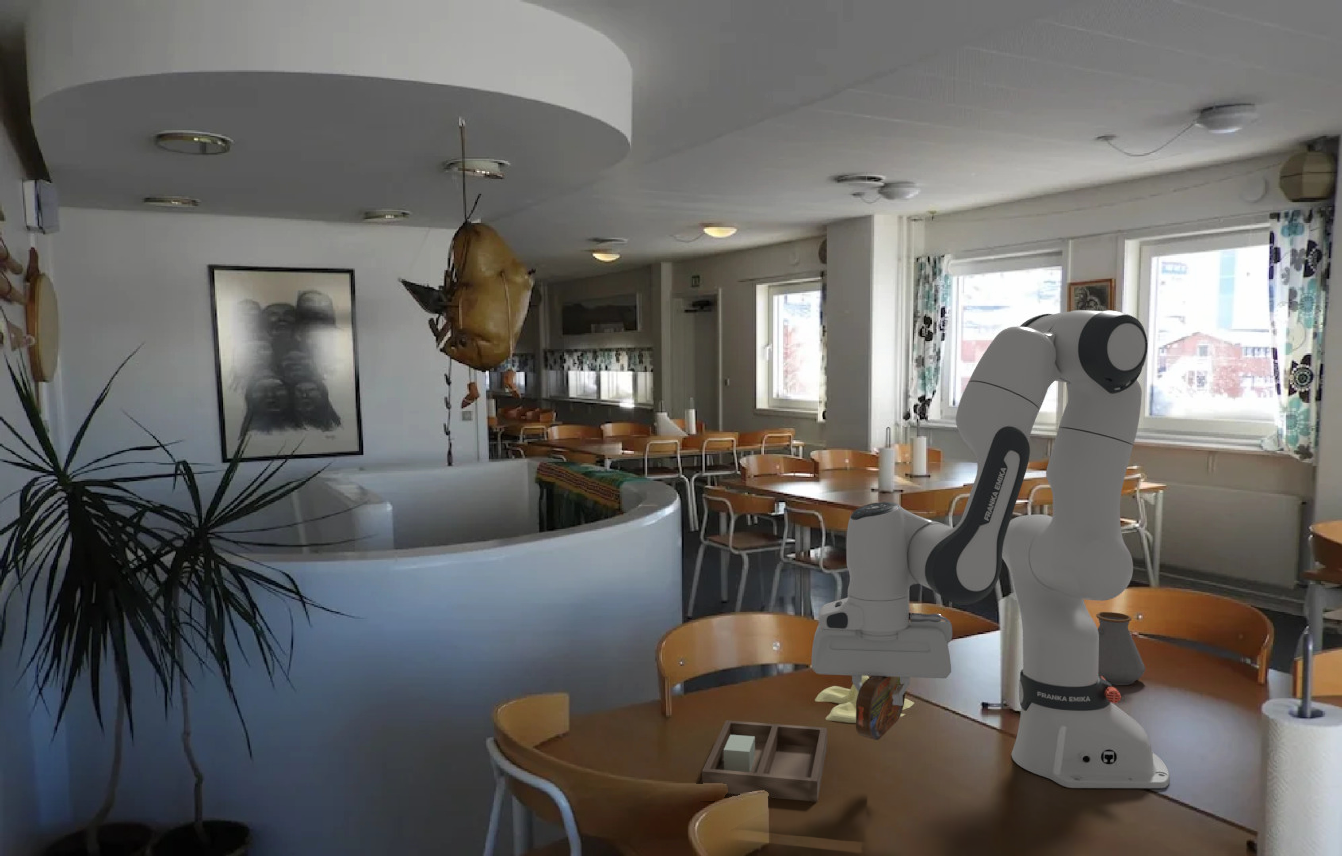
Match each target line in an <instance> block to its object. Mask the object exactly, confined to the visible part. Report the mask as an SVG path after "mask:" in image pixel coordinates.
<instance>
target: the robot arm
mask: <svg viewBox="0 0 1342 856" xmlns="http://www.w3.org/2000/svg"><path fill="white" fill-rule="evenodd" d="M1147 337H1148V336H1147V333H1146V330H1145V328H1144V325H1143V324H1142V323H1141V321H1140V320H1139V319H1138V318H1136V317H1134V316H1133V315H1130V314H1128V313H1124V312H1120V311H1116V310H1110V309H1109V310H1103V311H1101V310H1090V309H1089V310H1087V309H1086V310H1085V309H1083V310H1082V309H1081V310H1080V309H1078V310H1076V309H1075V310H1071V311H1067V312H1058V313H1054V314H1053V313H1042V314H1039V315H1037V316H1036V315H1035V316H1034V317H1031V318H1029V319H1027V320H1026V321H1024V322H1023V323H1022V324H1020V326H1019V325H1017V326H1011V327H1007V328H1004V329H1003V330H1001V331H1000V332H998V333H997V334H996V336H995V337H994V339H993V340H992V341H991V343H989V346H988V347H987V348H986V349H985V351H984V353H983V354H982V355H981V357H980V359H979V361H978V363H977V364H976V366H975V368H974V370H973V372H972V374H971V376H970V378H969V380H968V382H967V384H966V385H965V388H964V390H963V392H962V395H961V397H960V400H959V403H958V405H957V406H958V407H957V409H956V415H955V425H956V428H957V431H958V434H959V436H960V437H961V438H962V440H963V442H964V443H965V444H966V445H967V446H968V448H969V449H970V450H971V451H972V452H973V454H974V456H975V460H976V463H977V464H976V465H977V467H976V476H975V479H974V482H973V484H972V488H971V490H970V493H969V495H968V498H967V501H966V505H965V508H964V511H963V514H962V516H961V519H960V521H959V522H958V523H957V524H956V525H955V526H951V525H949V524H945V523H942V522H939V521H935V520H933V519H929V518H925V517H922V516H920V515H917V514H915V513H913V512H910V511H908V510H907V509H905V508H903V507H902V506H901V505H900V504H899V503H896V502H892V501H881V502H872V503H867V504H865V505H863V506H860V507H858V508H857V509H856V510H853V511H852V513H851V515H850V516H849V520H848V523H847V532H846V546H845V547H846V549H845V550H846V554H845V555H846V567H847V570H848V573H849V583H848V588H847V597H845V598H842V599H838V600H834V601H832V602H827V603H824V604H823V605H822V607H820V610H819V612H818V626H817V628H816V631H815V633H814V637H813V642H812V648H811V649H812V650H811V669H812V670H813V671H814V672H815V673H816V674H817V675H829V676H831V675H833V676H837V675H838V676H851V682H852V685H853V684H854V686H855V687H856V689H857V690H858V692H859V690H860V688H861V686H862V683H861V682H862V676H868V677H871V676H886V677H900V683H901V686H900V687H899V689H898V690H892V697H893V705H899V706H903V694H904V693H905V694H906V692H905V691H907V689H908V688H909V686H910V684H911V683H910V680H911V679H910V678H917V679H919V678H920V679H942V680H944V679H947V678H948V677H949V676H950V674H952V664H951V657H950V655H951V654H950V650H949V643H951V641H952V640H953V639H952V638H953V624H952V623H951V621H950V620H949V618H947V617H945V616H942V615H941V613H929V614H928V613H921V612H917V613H915V612H910V595H909V593H910V592H909V590H910V587H911V586H913V585H917V584H918V585H919V584H920V585H921V586H923V587H925V588H927V589H928V590H929V589H930V590H932V591H934V592H935V593H936V594H938V595H939V596H940V597H942V598H944V599H945V600H946V601H948V602H949V603H952V604H956V605H962V606H963V605H964V606H965V605H971V604H974V603H977V602H980V601H981V600H983V599H984V598H986V597H987V596H988V595H989V594H990V593H991V592H992V591H993V590H994V588H995V587H996V585H997V583H998V581H999V579H1000V575H1001V573H1002V572H1001V571H1002V565H1003V564H1002V563H1003V561H1004V563H1005V565H1006V567H1007V568H1008V571H1009V573H1010V576H1011V579H1012V583H1013V587H1014V591H1015V595H1016V598H1017V603H1018V608H1019V612H1020V616H1021V626H1022V669H1021V670H1020V672H1019V673H1020V674H1019V680H1018V682H1019V683H1018V697H1019V698H1018V702H1019V704H1020V716H1019V717H1020V718H1019V723H1018V728H1017V729H1018V730H1017V734H1016V735H1017V736H1016V738H1015V742H1014V745H1013V749H1012V751H1011V758H1012V760H1013V762H1014V763H1016V764H1017V765H1018V766H1020V767H1021V768H1023V769H1024V770H1026V771H1028V772H1029V773H1030V772H1031V773H1033V774H1035V775H1038V776H1041V777H1044V778H1047V779H1050V780H1052V781H1053V782H1055V783H1056V784H1058V785H1060V786H1062V787H1066V788H1068V789H1069V788H1070V789H1164V788H1167V787H1168V785H1169V784H1170V782H1171V780H1170V772H1169V770H1168V767H1167V765H1166V764H1165V763H1164V761H1163V760H1162V759H1161V758H1160V757H1159V756H1158V755H1157V754H1156V753H1154V752H1153V749H1152V745H1151V741H1150V739H1149V736H1148V734H1147V732H1146V731H1145V729H1144V727H1143V726H1142V725H1140V723H1139V722H1138V721H1137V720H1135V719H1134V718H1133V717H1132V716H1130V715H1129V714H1127V713H1126V712H1125V711H1123V710H1122V709H1121V708H1120V707H1119V706H1117V705H1116V704H1118V703H1119V701H1121V699H1122V696H1121V693H1120V691H1119V690H1118V689H1117V688H1116V687H1114V686H1113V684H1110V683H1109V682H1108V681H1106V680H1105V679H1104V678H1103V677H1102V676H1101V677H1099V676H1098V665H1099V633H1098V627H1097V624H1096V623H1095V620H1094V619H1093V618H1092V617H1091V615H1090V612H1089V610H1088V608H1087V606H1086V605H1087V604H1086V603H1085V600H1086V601H1087V600H1088V601H1098V602H1099V601H1108V600H1109V601H1110V600H1112V599H1115V598H1117V597H1118V596H1120V595H1121V594H1122V593H1124V591H1125V590H1126V589H1127V587H1128V586H1129V585H1130V583H1131V580H1132V577H1133V572H1134V564H1133V563H1134V562H1133V558H1132V557H1133V556H1132V555H1131V552H1130V551H1129V548H1128V547H1127V545H1126V544H1125V541H1124V537H1123V533H1122V528H1121V527H1122V526H1121V496H1122V495H1121V494H1122V492H1123V491H1122V490H1123V486H1124V481H1125V478H1126V473H1127V469H1128V467H1129V462H1130V459H1131V455H1132V452H1133V447H1134V444H1135V441H1136V437H1137V433H1138V428H1139V421H1140V417H1141V408H1142V397H1143V396H1142V395H1143V394H1142V393H1143V391H1142V387H1141V384H1140V383H1139V380H1138V378H1139V377H1140V375H1141V373H1142V370H1143V367H1144V365H1145V363H1146V359H1147V355H1148V354H1147V353H1148V338H1147ZM1054 382H1059V383H1060V382H1061V383H1066V384H1065V385H1066V389H1067V403H1066V406H1065V407H1064V410H1063V413H1062V416H1061V420H1060V423H1059V426H1058V428H1057V432H1056V436H1055V438H1054V442H1053V445H1052V450H1051V453H1050V456H1049V459H1048V464H1047V468H1046V471H1045V477H1046V481H1047V483H1048V485H1049V486H1050V489H1051V493H1052V516H1050V515H1046V514H1041V513H1040V514H1039V513H1038V514H1027V515H1020V516H1017V517H1014V518H1012V516H1013V513H1014V510H1015V507H1016V504H1017V501H1018V498H1019V495H1020V492H1021V489H1022V486H1023V482H1024V479H1025V477H1026V476H1025V475H1026V472H1027V469H1028V465H1029V462H1030V461H1029V460H1030V454H1031V448H1030V438H1031V434H1032V431H1033V427H1034V424H1035V423H1036V419H1037V416H1038V414H1039V412H1040V410H1041V408H1042V405H1043V403H1044V401H1045V398H1046V395H1047V393H1048V390H1049V388H1050V387H1051V385H1052V384H1054Z"/></svg>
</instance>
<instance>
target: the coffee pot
mask: <svg viewBox="0 0 1342 856" xmlns="http://www.w3.org/2000/svg"><path fill="white" fill-rule="evenodd" d="M1095 615H1096V616H1095V617H1096V618H1097V619H1098V621H1099V625H1098V627H1097V629H1098V633H1099V665H1098V676H1099V677H1101V676H1102V677H1103V678H1104V679H1105V680H1106V681H1108V682H1109V683H1110V684H1111V685H1112V686H1113V685H1114V686H1128V685H1132V684H1134V683H1135V682H1134V681H1138V680H1139V679H1140V678H1141V677H1143V675H1144V674H1145V671H1146V667H1145V664H1144V662H1143V659H1142V656H1141V654H1140V652H1139V650H1138V648H1137V646H1136V643H1135V641H1134V639H1133V636H1132V634H1131V631H1130V629H1129V624H1130V622H1131V621H1132V617H1131V615H1128V614H1126V613H1125V614H1124V613H1122V612H1121V613H1120V612H1112V611H1111V612H1110V611H1101V612H1098V613H1096V614H1095Z"/></svg>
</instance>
